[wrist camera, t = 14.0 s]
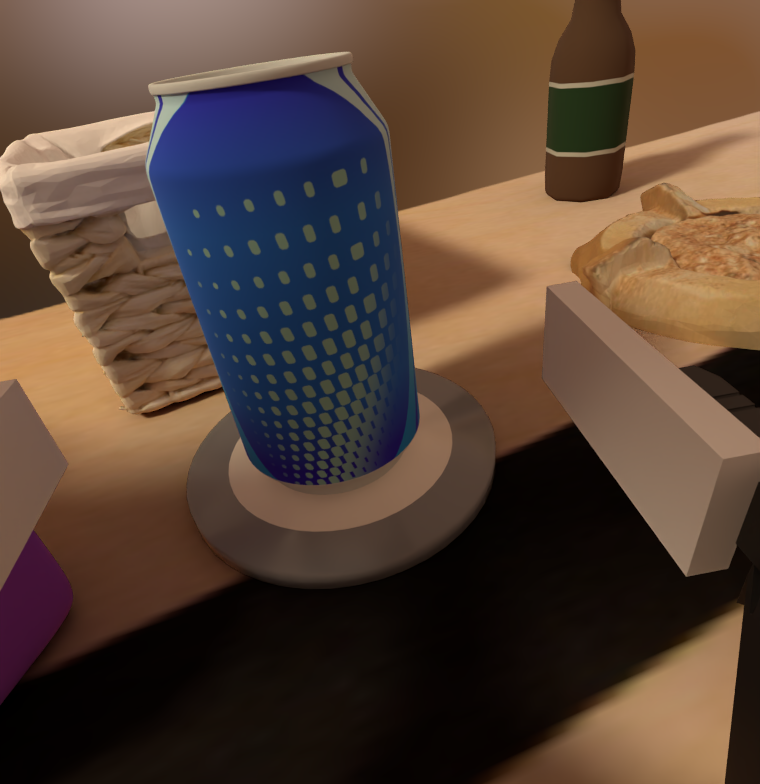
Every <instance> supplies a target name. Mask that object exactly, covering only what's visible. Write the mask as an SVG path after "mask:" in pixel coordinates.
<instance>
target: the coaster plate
mask: <svg viewBox="0 0 760 784" xmlns="http://www.w3.org/2000/svg"><path fill="white" fill-rule="evenodd" d="M415 375H416V384H417V394H418V403H419V413H420V420H419V426H418V430H417V433H416V435H415V437H414V439H413V440H412V442H411V443H410V445H409V446H408V447H407V449H406V450H405V451H404V452H403V454H402V456H401V458H400V459H399V460H398V462H397V463H396V464H395V465H394V466H393V468H391V469H390V470H389V471H388V472H387V473H386V474H384V475H383V476H382V477H380V478H379V479H377V480H375V481H374V482H372V483H370V484H368V485H366V486H363V487H361V488H358V489H355V490H352V491H348V492H343V493H338V494H328V495H317V494H307V493H303V492H299V491H296V490H293V489H290V488H288V487H286V486H284V485H283V484H281V483H280V482H278V481H276V480H273V479H271V478H269V477H267V476H266V475H264V474H262V473H261V472H260V471H259V470H257V469H256V468H255V467H254V466H253V464H252V463H251V461H250V460H249V458H248V456H247V454H246V451H245V449H244V446H243V443H242V440H241V437H240V435H239V432H238V429H237V426H236V423H235V421H234V418H233V415H232V412H230V413H228V414H227V415H226V416H225V417H224V418H223V419H222V420H221V421H220V422H219V423H218V424H217V425H216V426H215V427H214V428H213V429H212V430H211V431H210V432H209V434H208V435H207V436H206V438H205V439H204V441H203V442H202V443H201V445H200V447H199V448H198V450H197V452H196V454H195V456H194V458H193V461H192V464H191V466H190V469H189V473H188V479H187V501H188V505H189V509H190V512H191V515H192V517H193V519H194V521H195V523H196V525H197V527H198V529H199V531H200V533H201V535H202V537H203V539H204V541H205V542H206V544H207V545H208V546H209V548H210V549H211V550H212V551H213V553H214V554H215V555H217V556H218V557H219V558H220V559H221V560H222V561H224V562H225V563H226V564H227V565H229V566H230V567H232V568H234V569H235V570H237V571H239V572H240V573H242V574H244V575H247V576H249V577H252V578H254V579H257V580H259V581H262V582H266V583H270V584H274V585H278V586H283V587H291V588H300V589H334V588H341V587H349V586H357V585H361V584H365V583H369V582H373V581H377V580H381V579H384V578H386V577H389V576H392V575H395V574H397V573H400V572H403V571H405V570H407V569H409V568H411V567H413V566H415V565H417V564H419V563H421V562H423V561H425V560H427V559H429V558H430V557H432V556H433V555H435V554H436V553H438V552H439V551H441V550H442V549H444V548H445V547H446V546H448V545H449V544H450V543H451V542H452V541H453V540H455V539H456V538H457V537H458V536H459V535H460V534H462V533H463V531H464V530H465V529H466V528H467V527H468V526H469V525H470V524H471V522H472V521H473V520H474V519H475V518H476V516H477V515H478V513H479V512H480V510H481V508H482V507H483V505H484V504H485V502H486V500H487V497H488V495H489V493H490V490H491V488H492V484H493V480H494V475H495V461H496V445H495V437H494V431H493V427H492V425H491V422H490V420H489V417H488V416H487V414H486V412H485V411H484V409H483V408H482V406H481V405H480V404H479V403H478V402H477V400H476V399H475V398H474V397H473V396H472V395H470V394H469V393H468V392H467V391H466V390H464V389H463V388H462V387H460V386H458V385H457V384H455V383H454V382H452V381H450V380H448V379H446V378H444V377H442V376H439V375H437V374H434V373H431V372H428V371H425V370H421V369H417V368H415Z"/></svg>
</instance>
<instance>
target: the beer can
mask: <svg viewBox="0 0 760 784" xmlns="http://www.w3.org/2000/svg"><path fill="white" fill-rule="evenodd" d="M352 62H353V57H352V54H351V53H350V52H339V53H329V54H320V55H313V56H306V57H299V58H291V59H284V60H277V61H271V62H264V63H258V64H252V65H245V66H240V67H233V68H227V69H222V70H215V71H210V72H204V73H198V74H193V75H188V76H182V77H177V78H172V79H167V80H162V81H158V82H154V83H151V84H149V86H148V88H149V92H150V94H151V95H153V96H154V98H155V101H156V109H155V114H154V119H153V124H152V129H151V135H150V140H149V145H148V150H147V156H146V161H145V168H146V173H147V177H148V180H149V183H150V186H151V188H152V191H153V194H154V197H155V200H156V202H157V205H158V208H159V211H160V214H161V216H162V219H163V222H164V225H165V227H166V230H167V233H168V236H169V239H170V241H171V244H172V247H173V250H174V253H175V255H176V258H177V261H178V264H179V267H180V269H181V272H182V275H183V278H184V281H185V283H186V286H187V289H188V292H189V295H190V297H191V300H192V303H193V306H194V309H195V311H196V314H197V317H198V320H199V323H200V325H201V328H202V331H203V334H204V337H205V339H206V342H207V345H208V348H209V351H210V353H211V356H212V359H213V362H214V365H215V367H216V370H217V373H218V376H219V379H220V381H221V384H222V387H223V390H224V393H225V395H226V398H227V401H228V404H229V407H230V409H231V412H232V415H233V418H234V421H235V423H236V426H237V429H238V432H239V435H240V437H241V440H242V443H243V446H244V449H245V451H246V454H247V456H248V458H249V460H250V461H251V463H252V464H253V466H254V467H255V468H256V469H257V470H259V471H260V472H261V473H262V474H264V475H266V476H267V477H269V478H271V479H273V480H276V481H278V482H280V483H281V484H283V485H284V486H286V487H288V488H290V489H293V490H296V491H299V492H303V493H307V494H317V495H328V494H338V493H343V492H348V491H352V490H355V489H358V488H361V487H363V486H366V485H368V484H370V483H372V482H374V481H375V480H377V479H379V478H380V477H382V476H383V475H384V474H386V473H387V472H388V471H389V470H390V469H391V468H393V466H394V465H395V464H396V463H397V462H398V460H399V459H400V458H401V456H402V454H403V452H404V451H405V450H406V449H407V447H408V446H409V445H410V443H411V442H412V440H413V439H414V437H415V435H416V433H417V430H418V426H419V420H420V413H419V403H418V394H417V384H416V375H415V366H414V357H413V347H412V338H411V329H410V320H409V310H408V301H407V292H406V283H405V273H404V264H403V255H402V246H401V236H400V227H399V218H398V209H397V200H396V190H395V181H394V172H393V163H392V154H391V145H390V136H389V129H388V125H387V124H386V121H385V119H384V118H383V117H382V115H381V114H380V112H379V111H378V109H377V108H376V106H375V105H374V103H373V102H372V100H371V99H370V98H369V96H368V95H367V93H366V92H365V91H364V89H363V88H362V86H361V85H360V83H359V82H358V81H357V79H356V77H355V76H354V74H353V72H352V70H351V63H352Z"/></svg>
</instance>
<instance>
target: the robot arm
mask: <svg viewBox="0 0 760 784" xmlns="http://www.w3.org/2000/svg"><path fill="white" fill-rule="evenodd" d="M542 379H543V380H544V382H545V383H546V384H547V386H548V387H549V389H550V390H551V391H552V393H553V394H554V395H555V397H556V398H557V400H558V401H559V402H560V404H561V405H562V406H563V408H564V409H565V411H566V412H567V413H568V415H569V416H570V417H571V419H572V420H573V422H574V423H575V424H576V426H577V427H578V428H579V430H580V431H581V433H582V434H583V435H584V437H585V438H586V439H587V441H588V442H589V444H590V445H591V446H592V448H593V449H594V450H595V452H596V453H597V455H598V456H599V457H600V459H601V460H602V461H603V463H604V464H605V466H606V467H607V468H608V470H609V471H610V472H611V474H612V475H613V477H614V478H615V479H616V481H617V482H618V483H619V485H620V486H621V488H622V489H623V490H624V492H625V493H626V494H627V496H628V497H629V499H630V500H631V501H632V503H633V504H634V505H635V507H636V508H637V510H638V511H639V512H640V514H641V515H642V516H643V518H644V519H645V521H646V522H647V523H648V525H649V526H650V527H651V529H652V530H653V532H654V533H655V534H656V536H657V537H658V538H659V540H660V541H661V543H662V544H663V545H664V547H665V548H666V549H667V551H668V552H669V554H670V555H671V556H672V558H673V559H674V560H675V562H676V563H677V565H678V566H679V567H680V569H681V570H682V571H683V573H684V574H685V576H686V577H687V576H692V575H697V574H702V573H707V572H712V571H717V570H722V569H727V568H728V567H729V565H730V562H731V560H732V557H733V554H734V552H735V549H736V546H738V547H739V548H740V549H741V550H742V551H743V553H744V554H745V555H746V556H747V557H748V558H749V559H750V561H751V562H752V563H753V564H752V566H751V569H750V571H749V573H748V576H747V578H746V581H745V583H744V585H743V588H742V590H741V593H740V595H739V597H738V600H737V603H740V604H742V605H744V613H743V622H742V631H741V640H740V649H739V658H738V668H737V677H736V686H735V695H734V704H733V713H732V722H731V731H730V740H729V749H728V758H727V767H726V777H725V784H760V408H755V404H754V403H752V402H751V401H750V400H749V399H747V398H746V397H745V396H744V395H739V391H737V390H736V389H735V388H734V387H732V386H731V385H730V384H729V383H727V382H726V381H725V380H724V379H722V378H721V377H719V376H717V375H715V374H713V373H710V372H708V371H706V370H703V369H701V368H699V367H696V366H694V365H693V366H688V367H683V368H677V367H676V366H675V365H674V364H673V363H672V362H670V361H669V360H668V359H667V358H666V357H665V356H663V355H662V354H661V353H660V352H659V351H658V350H656V349H655V348H654V347H653V346H652V345H651V344H649V343H648V342H647V341H646V340H645V339H644V338H642V337H641V336H640V335H639V334H638V333H637V332H635V331H634V330H633V329H632V328H631V327H630V326H628V325H627V324H626V323H625V322H624V321H623V320H621V319H620V318H619V317H618V316H617V315H616V314H614V313H613V312H612V311H611V310H610V309H609V308H607V307H606V306H605V305H604V304H603V303H602V302H600V301H599V300H598V299H597V298H596V297H595V296H593V295H592V294H591V293H590V292H589V291H588V290H586V289H585V288H584V287H583V286H582V285H581V284H579V283H578V282H577V281H573V282H568V283H562V284H556V285H551V286H547V292H546V310H545V329H544V348H543V367H542ZM67 466H68V462H67V461H66V459H65V458H64V456H63V454H62V453H61V451H60V449H59V448H58V446H57V444H56V443H55V441H54V440H53V438H52V436H51V435H50V433H49V431H48V430H47V428H46V427H45V425H44V423H43V422H42V420H41V418H40V417H39V415H38V413H37V412H36V410H35V409H34V407H33V405H32V404H31V402H30V400H29V399H28V397H27V395H26V394H25V392H24V391H23V389H22V387H21V386H20V384H19V382H18V381H17V379H14V380H8V381H2V382H0V591H1V589H2V587H3V585H4V583H5V581H6V579H7V578H8V576H9V574H10V572H11V570H12V568H13V566H14V565H15V563H16V561H17V559H18V557H19V555H20V553H21V552H22V550H23V548H24V546H25V544H26V542H27V540H28V539H29V537H30V535H31V533H32V531H33V529H34V527H35V526H36V524H37V522H38V520H39V518H40V516H41V514H42V513H43V511H44V509H45V507H46V505H47V503H48V501H49V499H50V498H51V496H52V494H53V492H54V490H55V488H56V486H57V485H58V483H59V481H60V479H61V477H62V475H63V473H64V472H65V470H66V468H67Z"/></svg>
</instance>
